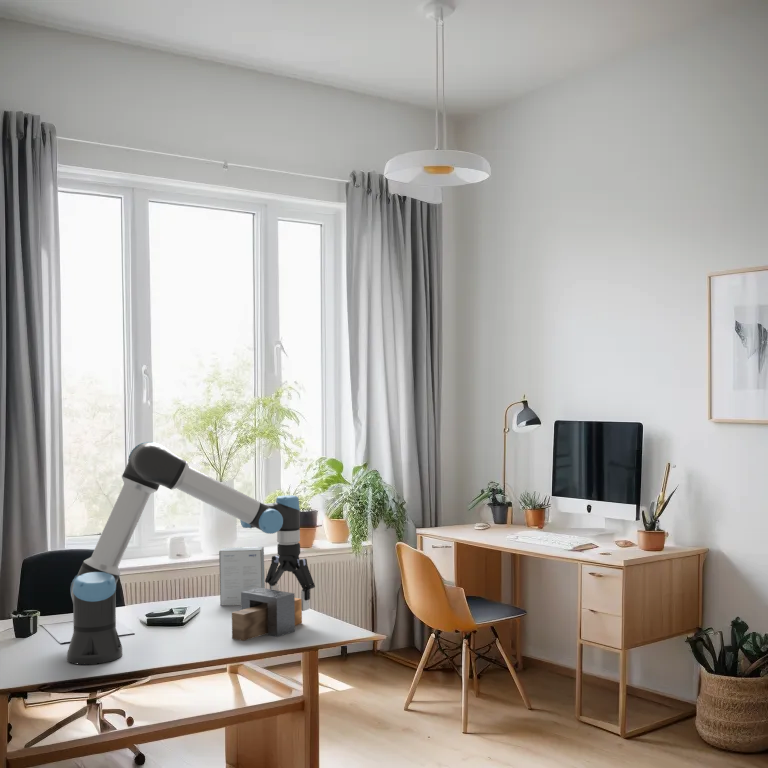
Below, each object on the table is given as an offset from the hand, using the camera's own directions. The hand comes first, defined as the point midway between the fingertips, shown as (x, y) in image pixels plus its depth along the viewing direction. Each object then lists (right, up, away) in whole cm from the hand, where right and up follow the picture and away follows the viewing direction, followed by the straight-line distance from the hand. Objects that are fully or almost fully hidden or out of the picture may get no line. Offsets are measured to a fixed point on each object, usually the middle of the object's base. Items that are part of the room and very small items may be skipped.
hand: (290, 607), depth 287 cm
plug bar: (-6, -5, -8) cm, 12 cm away
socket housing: (-6, -5, -8) cm, 11 cm away
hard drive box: (-21, -7, +31) cm, 37 cm away
